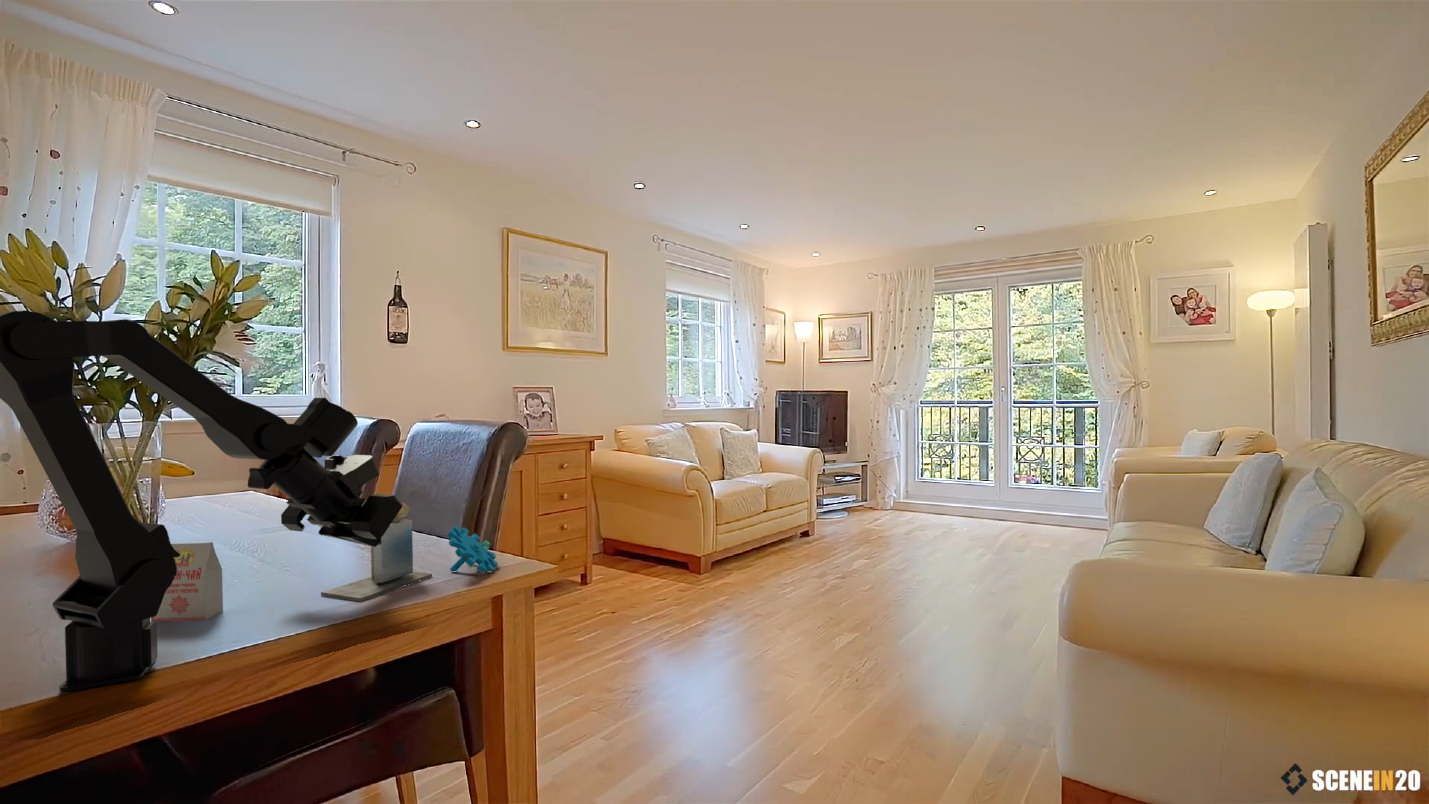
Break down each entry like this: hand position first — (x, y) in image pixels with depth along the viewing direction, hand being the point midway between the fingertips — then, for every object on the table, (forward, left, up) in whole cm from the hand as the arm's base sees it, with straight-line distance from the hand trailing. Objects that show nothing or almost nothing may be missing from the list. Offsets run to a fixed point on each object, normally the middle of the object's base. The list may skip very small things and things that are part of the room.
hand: (376, 544), depth 103 cm
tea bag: (-23, -2, -7) cm, 24 cm away
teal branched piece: (+15, +3, -7) cm, 17 cm away
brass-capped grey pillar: (+2, +3, -7) cm, 8 cm away
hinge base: (0, +1, -7) cm, 7 cm away
